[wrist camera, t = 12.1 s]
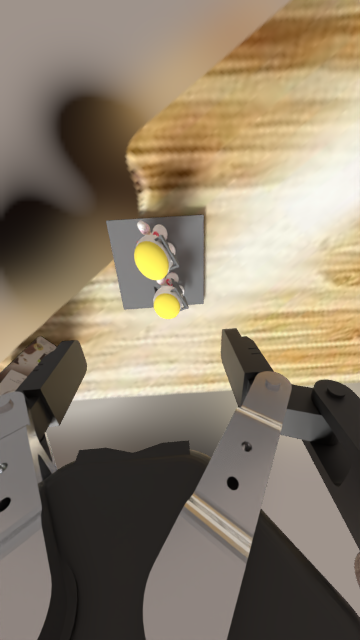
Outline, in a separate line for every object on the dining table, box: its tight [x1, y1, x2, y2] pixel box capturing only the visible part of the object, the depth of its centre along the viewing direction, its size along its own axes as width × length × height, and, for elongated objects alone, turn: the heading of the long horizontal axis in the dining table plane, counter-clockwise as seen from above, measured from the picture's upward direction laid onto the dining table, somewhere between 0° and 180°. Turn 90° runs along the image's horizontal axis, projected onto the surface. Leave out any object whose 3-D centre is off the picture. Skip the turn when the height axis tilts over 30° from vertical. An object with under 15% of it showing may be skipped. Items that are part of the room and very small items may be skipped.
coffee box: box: [0, 336, 57, 396], centre depth 29 cm, size 9×6×16 cm
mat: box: [106, 215, 204, 310], centre depth 29 cm, size 12×12×1 cm
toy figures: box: [134, 221, 188, 319], centre depth 24 cm, size 12×4×8 cm, turn 14°
